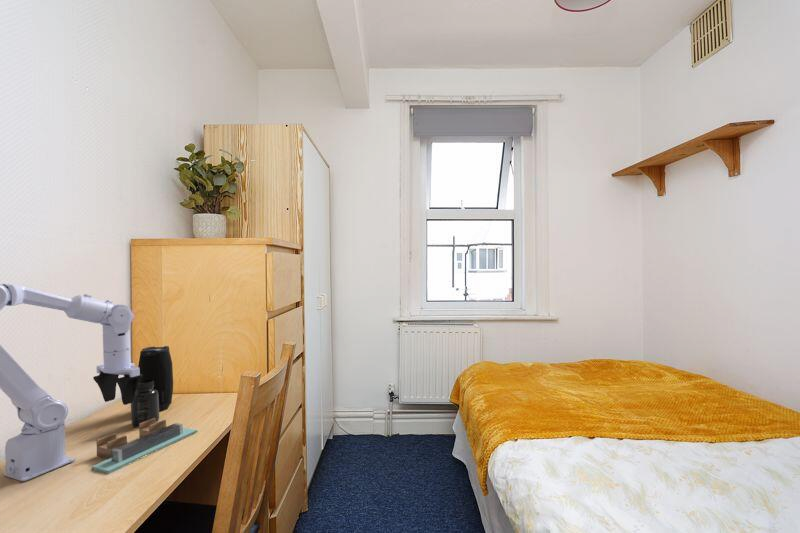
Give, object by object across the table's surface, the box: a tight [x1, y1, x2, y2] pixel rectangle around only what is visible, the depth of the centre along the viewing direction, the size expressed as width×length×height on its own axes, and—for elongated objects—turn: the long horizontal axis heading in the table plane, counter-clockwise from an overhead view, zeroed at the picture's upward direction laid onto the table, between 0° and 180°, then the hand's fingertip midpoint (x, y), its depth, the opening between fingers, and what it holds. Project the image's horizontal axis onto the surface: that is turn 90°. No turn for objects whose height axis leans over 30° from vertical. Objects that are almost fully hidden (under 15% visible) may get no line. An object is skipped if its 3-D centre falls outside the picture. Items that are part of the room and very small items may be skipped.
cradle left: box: [96, 432, 128, 460], centre depth 92 cm, size 4×5×4 cm
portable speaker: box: [137, 345, 174, 412], centre depth 123 cm, size 9×9×20 cm
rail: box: [111, 422, 184, 463], centre depth 95 cm, size 16×2×2 cm, turn 157°
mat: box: [91, 426, 198, 474], centre depth 95 cm, size 22×6×1 cm, turn 157°
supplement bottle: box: [130, 380, 160, 428], centre depth 112 cm, size 7×7×12 cm
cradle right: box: [138, 418, 167, 439], centre depth 101 cm, size 4×5×4 cm
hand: (118, 402), depth 101 cm, fingers open, 7 cm apart
